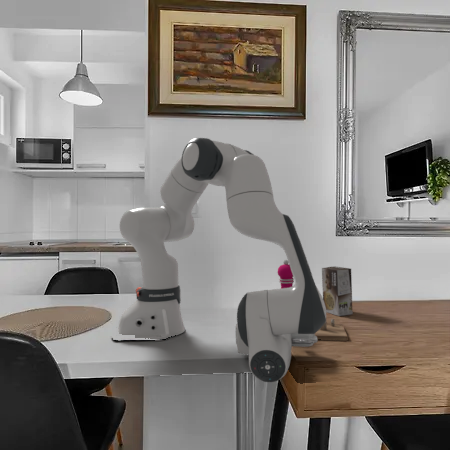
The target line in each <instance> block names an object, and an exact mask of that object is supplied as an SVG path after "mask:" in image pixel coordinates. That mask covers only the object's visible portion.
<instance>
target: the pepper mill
mask: <svg viewBox="0 0 450 450" xmlns="http://www.w3.org/2000/svg"><path fill="white" fill-rule="evenodd" d="M277 275H278V277H279V278H278V280H279V281H278V282H279V283H280V289H282V288H289V287H293V286H294V285H293V284H294V283H295V280H294V277H293V274H292V271H291V268H290V265H289V262H288V259H284V260H283V264H281V265H279V267H278V268H277Z"/></svg>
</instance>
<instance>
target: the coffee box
mask: <svg viewBox="0 0 450 450" xmlns="http://www.w3.org/2000/svg"><path fill="white" fill-rule="evenodd" d="M321 280H322V283H321V284H322V285H321V286H322V287H321V288H322V298H323V300H324V303H325V307H326V313H328V314H332V315H335V316H337V317H342V316H343V317H344V316H350V315H353V314H354V313H353V290H352V289H353V287H352V286H353V285H352V280H353V279H352V268H349V267H344V266H343V267H341V266H328V267H321Z"/></svg>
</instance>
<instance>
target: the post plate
mask: <svg viewBox="0 0 450 450" xmlns="http://www.w3.org/2000/svg"><path fill="white" fill-rule="evenodd" d="M315 336H317V339H321V340H320V341H341V342H342V341H344V342H346V341H348V334H347V332H346V329H345V328H344V325H343V324H338V323H337V324H336V323H335V319H333V318H331V319H330V323H327V321H326V322H325V323H324V325H323V326H322V327H321V328H320V329H319V330H318V331H317V332H316V333H315Z"/></svg>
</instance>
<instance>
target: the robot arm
mask: <svg viewBox="0 0 450 450" xmlns="http://www.w3.org/2000/svg"><path fill="white" fill-rule="evenodd" d="M270 179H271V178H270V176H269V173H268V170H267V167H266V163H265V161H264V160H263V159H262V158H261V157H260V156H258V155H255V154H254V153H252V152H251V151H249V150H247V149H243V148H240V147H239V146H236V145H234V144H231V143H227V142H226V143H225V142H221V141H218V140H217V141H216V140H212V139H211V138H208V137H206V138H205V137H195V138H192V139H191V140H190V141H188V143H187V144H186V145H185V146H184V149H183V151H182V154H181V155H180V157H179V159H178V160H177V161H176V163H175V164H174V165H173V166H172V168H171V170H170V172H169V173H168V175H167V177H166V179H165V180H164V181H163V184H161V187H160V192H159V193H160V197H161V200H162V201H163V202H164V204H162V205H161V206H160V207H138V208H133V209H129V210H126V211H125V212H124V213H123V214H122V216H121V217H120V221H119V232H120V234H121V236H122V237H123V239H124V240H125V241H126V242H128V243H129V244H130V245H131V246H132V247H133V248H134V250H135V252H136V254H137V255H138V258H139V260H140V264H141V271H142V272H141V275H142V287H140V286H139V287H137V288H136V289H135V294H136V295H135V296H136V301H134V302H133V303H132V304H131V305H129V306H128V307H127V308H126V309H125V310H124V311H123V312H122V313H121V315H120V316H119V321H118V326H117V327H118V332H119V334H122V335H135V338H145V339H146V338H148V339H149V338H150V339H166V338H168V337H170V338H172V337H174V336H175V335H176V336H178V335H180V334H181V335H182V333H184V332H185V331H186V327H185V324H184V320H183V316H182V311H181V302H182V299H181V298H182V294H181V293H182V292H181V285H179V264H178V261H177V259H176V258H175V257H173V256H172V255H170V254H169V253H168V251H167V250H166V247H165V243H171V242H178V241H181V240H185V239H187V238H189V237H190V236H191V235H192V234H193V233H194V229H195V220H194V217H193V214H192V211H193V209H194V207H195V205H196V204H197V202H198V201H199V199H200V198H201V196H202V194H203V193H204V191H205V190H206V188H207V187H208V185H213V186H217V187H224V188H225V200H226V209H227V215H228V219H229V222H230V224H231V226H232V227H233V228H234V229H235V230H236V231H237V232H238V233H239V234H242V236H243V235H244V236H246V237H248V238H250V239H251V238H252V239H255V240H260V241H266V242H269V243H272V244H275V245H278V246H279V247H280V248H282V249H283V251H284V253H285V256H286V260H288V262H289V263H288V264H289V265H290V268H291V271H292V274H293V278H294V285H293V286H292V287H289V288H282V289H281V288H276V289H275V288H274V289H262V290H256V291H250V292H249V291H248V292H246V293H245V294H244V295H243V296H242V298H241V300H240V302H239V304H238V306H237V311H236V312H237V313H236V324H235V344H236V347H237V353H239V354H241V355H246V356H248V366H249V370H250V373H252V375H253V377H255V378H256V379H258V380H259V381H261V382H264V383H274V382H278V381H280V380H281V379H283V378H284V377H285V376H286V375H287V372H288V370H289V368H290V364H291V360H292V347H299V348H300V347H303V348H304V347H305V348H306V347H308V348H309V347H312V346H313V345H314V344H315V343H318V341H319V340H318V339H317V336H315V333H316V332H317V331H318V330H319V329H320V328H321V327H322V326H323V325H324V323H325V322H326V323H327V312H326V307H325V303H324V300H323V295H322V294H321V292H320V290H319V288H318V287H317V284H316V283H315V279H314V277H313V274H312V270H311V267H310V265H309V261H308V260H307V257H306V256H307V255H306V254H305V251H304V248H303V245H302V242H301V239H300V237H299V235H298V231H297V230H296V226H295V225H294V222H293V221H292V219H291V217H290V216H289V215H287V214H284V213H282V212H281V211H280V210H279V209H278V207H277V205H276V203H275V202H276V201H275V199H274V193H273V187H272V183H271V180H270ZM171 336H172V337H171ZM168 339H169V338H168ZM166 340H167V339H166Z"/></svg>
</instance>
